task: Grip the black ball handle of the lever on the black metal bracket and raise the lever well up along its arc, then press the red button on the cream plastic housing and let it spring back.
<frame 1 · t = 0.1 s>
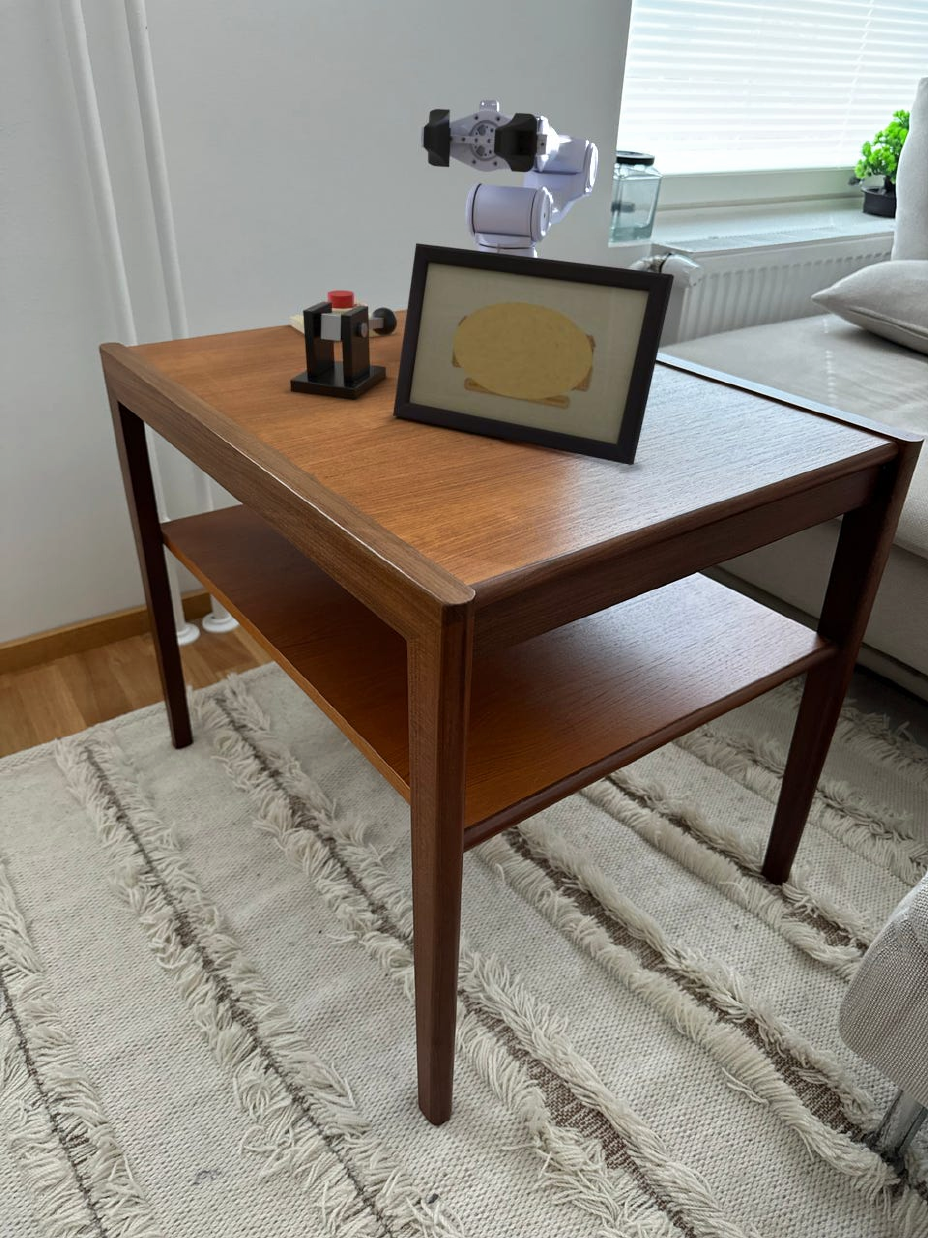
hand: (461, 138, 92), 22 cm above the table, tool horizontal, fingers open, 7 cm apart
button: (341, 300, 108), point 3 cm above the table, slide at 0.1 cm
bracket: (339, 384, 91), on the table
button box: (342, 329, 110), on the table
lever: (361, 324, 94), point 5 cm above the table, hinge at -10.0°
picture frame: (524, 429, 82), on the table
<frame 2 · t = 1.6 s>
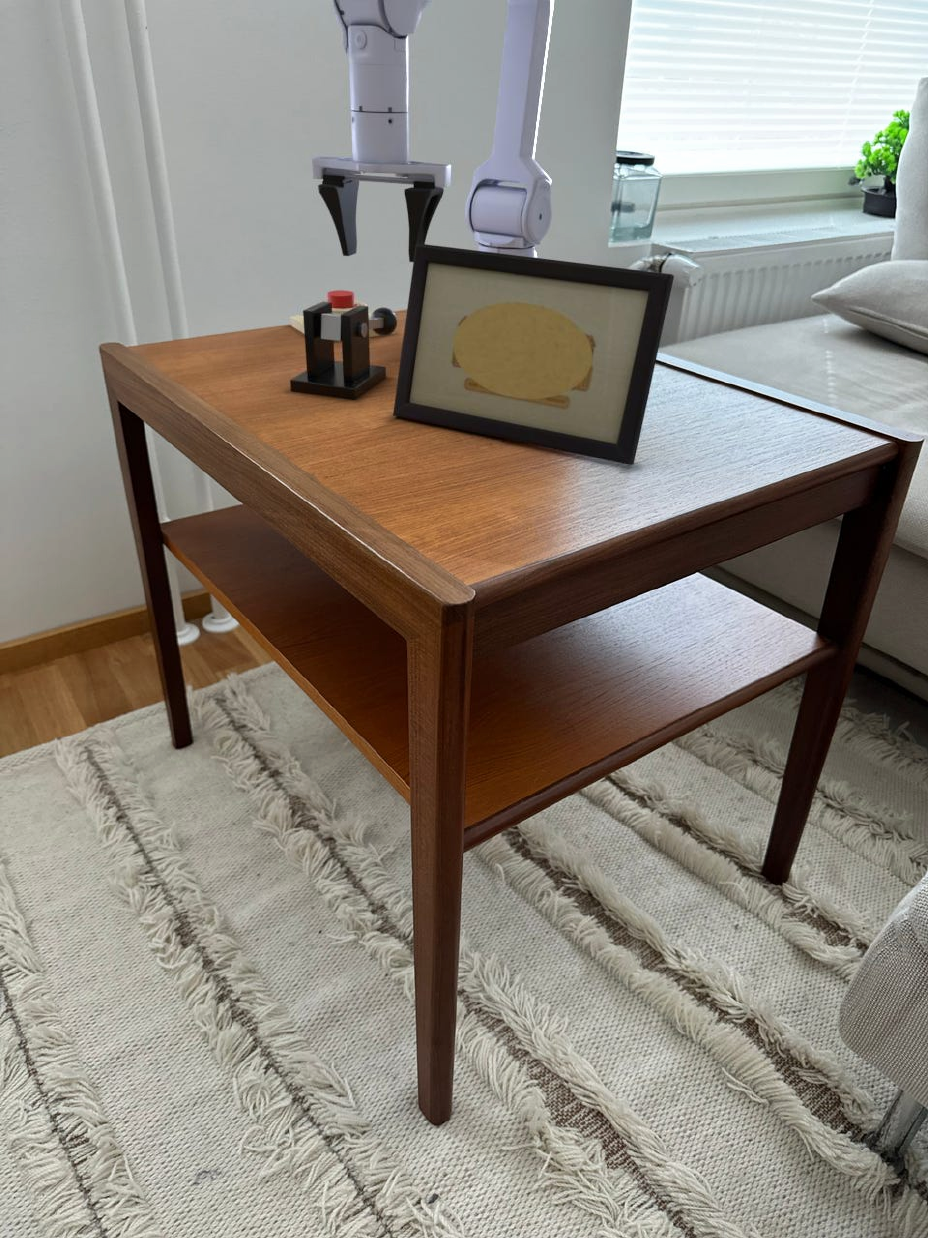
hand: (382, 257, 95), 10 cm above the table, tool pointing down, fingers open, 7 cm apart
nothing on the table moved.
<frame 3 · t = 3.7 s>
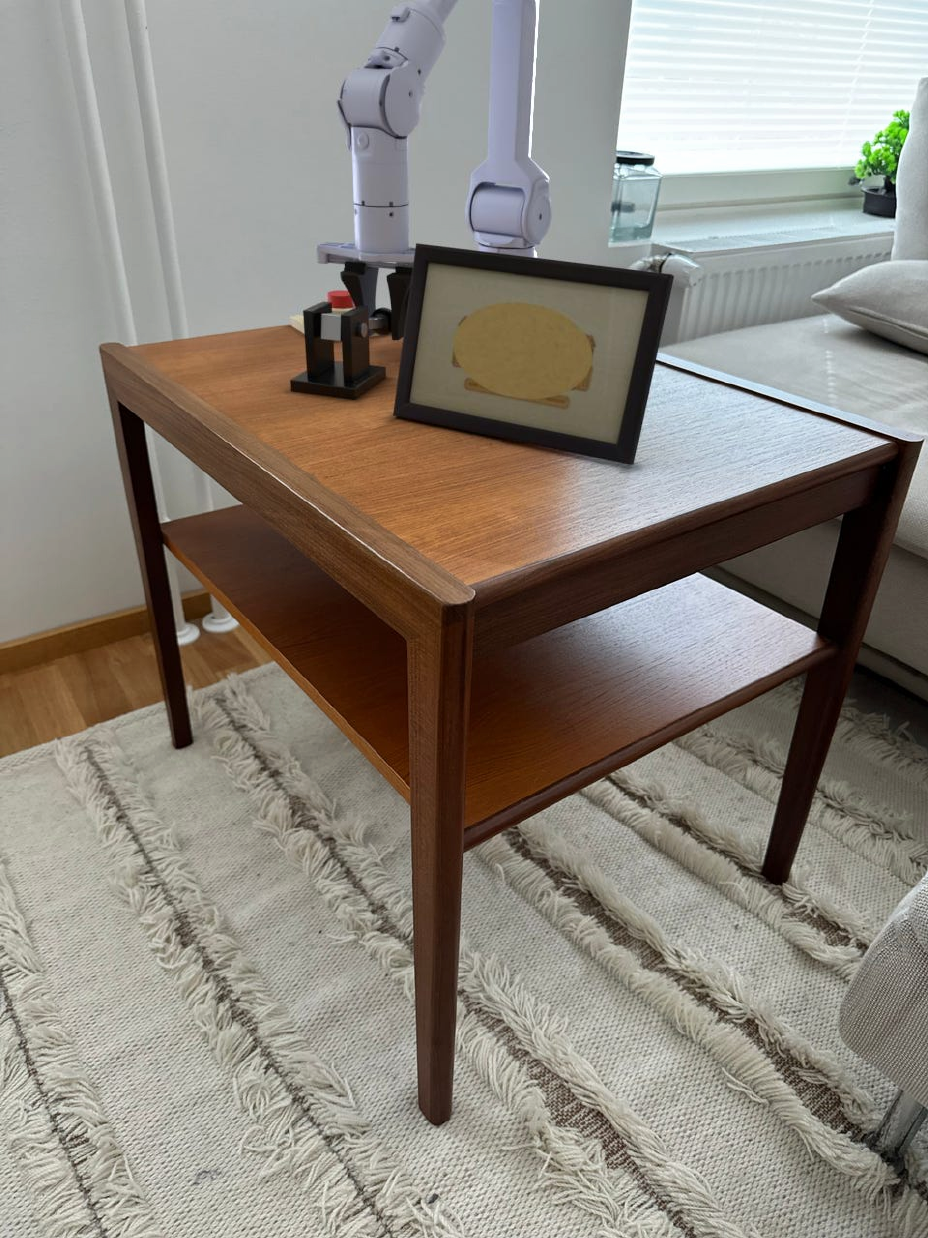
hand: (383, 336, 100), 2 cm above the table, tool pointing down, fingers closed on lever, 3 cm apart
lever: (361, 324, 94), point 5 cm above the table, hinge at -10.0°, touching gripper
everything else where it was.
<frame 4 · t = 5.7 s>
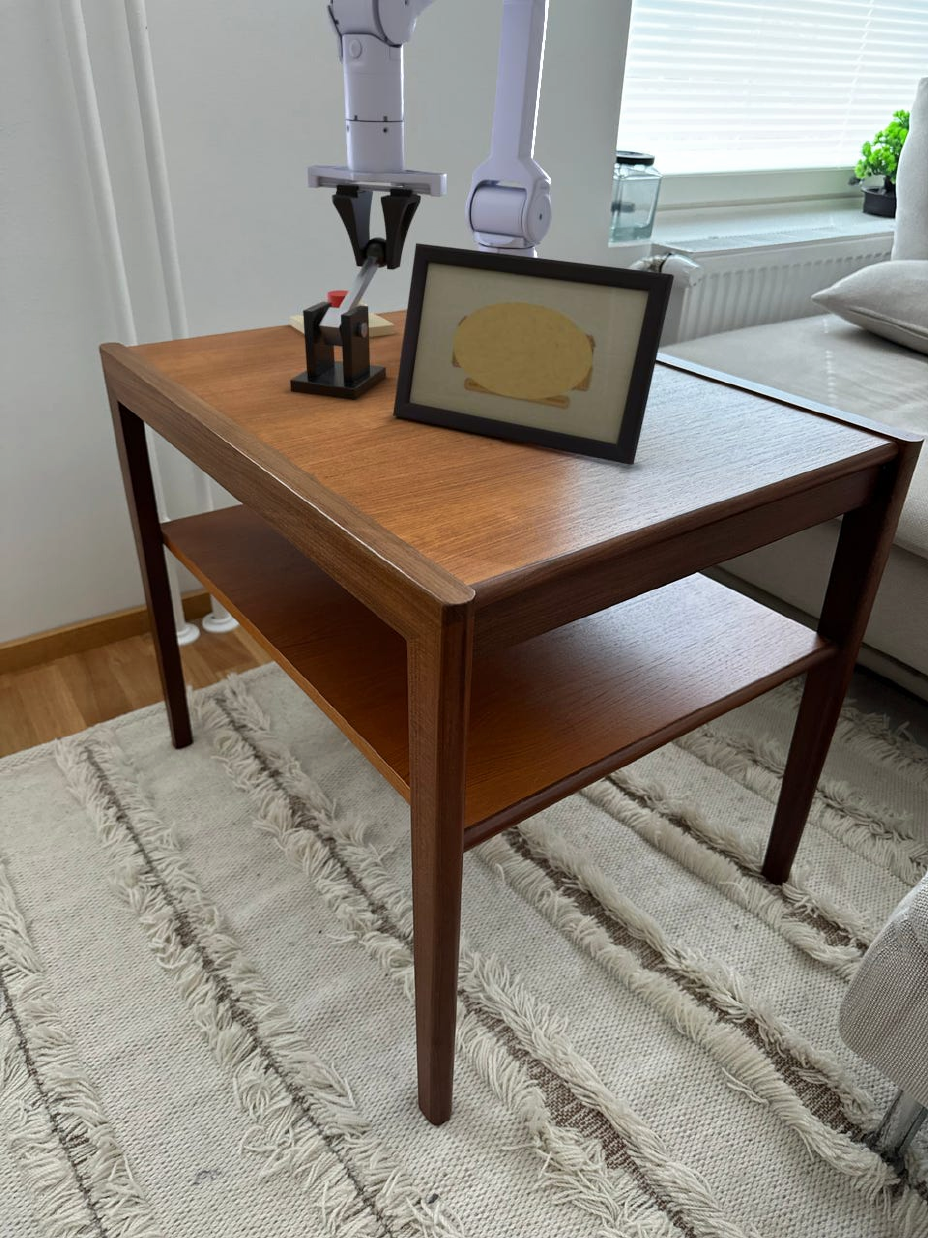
hand: (378, 266, 95), 10 cm above the table, tool pointing down, fingers closed on lever, 3 cm apart
lever: (358, 288, 91), point 8 cm above the table, hinge at 26.1°, touching gripper
everything else where it was.
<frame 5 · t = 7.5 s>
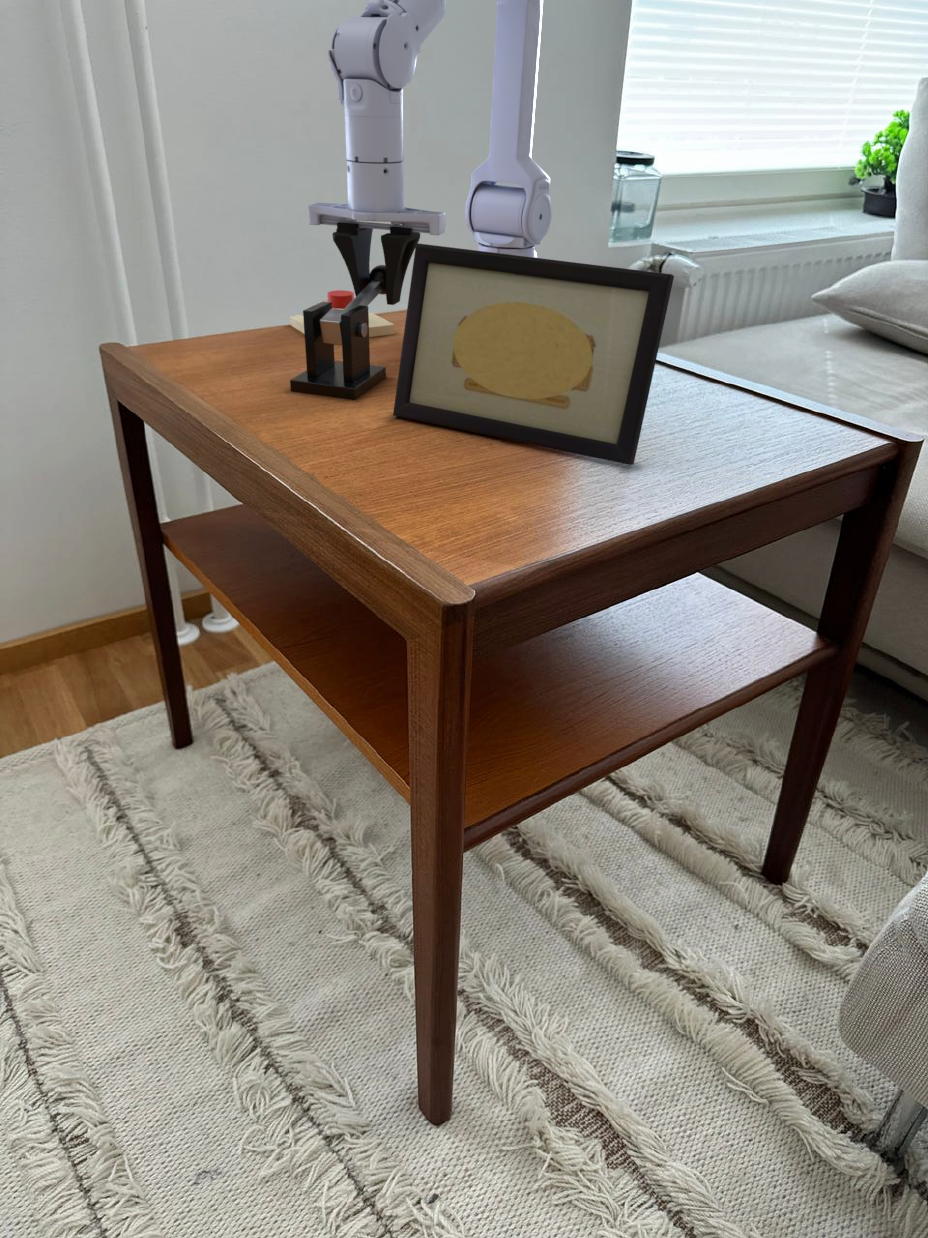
hand: (378, 301, 97), 6 cm above the table, tool pointing down, fingers closed on lever, 3 cm apart
lever: (361, 301, 93), point 7 cm above the table, hinge at 11.4°, touching gripper
everything else where it was.
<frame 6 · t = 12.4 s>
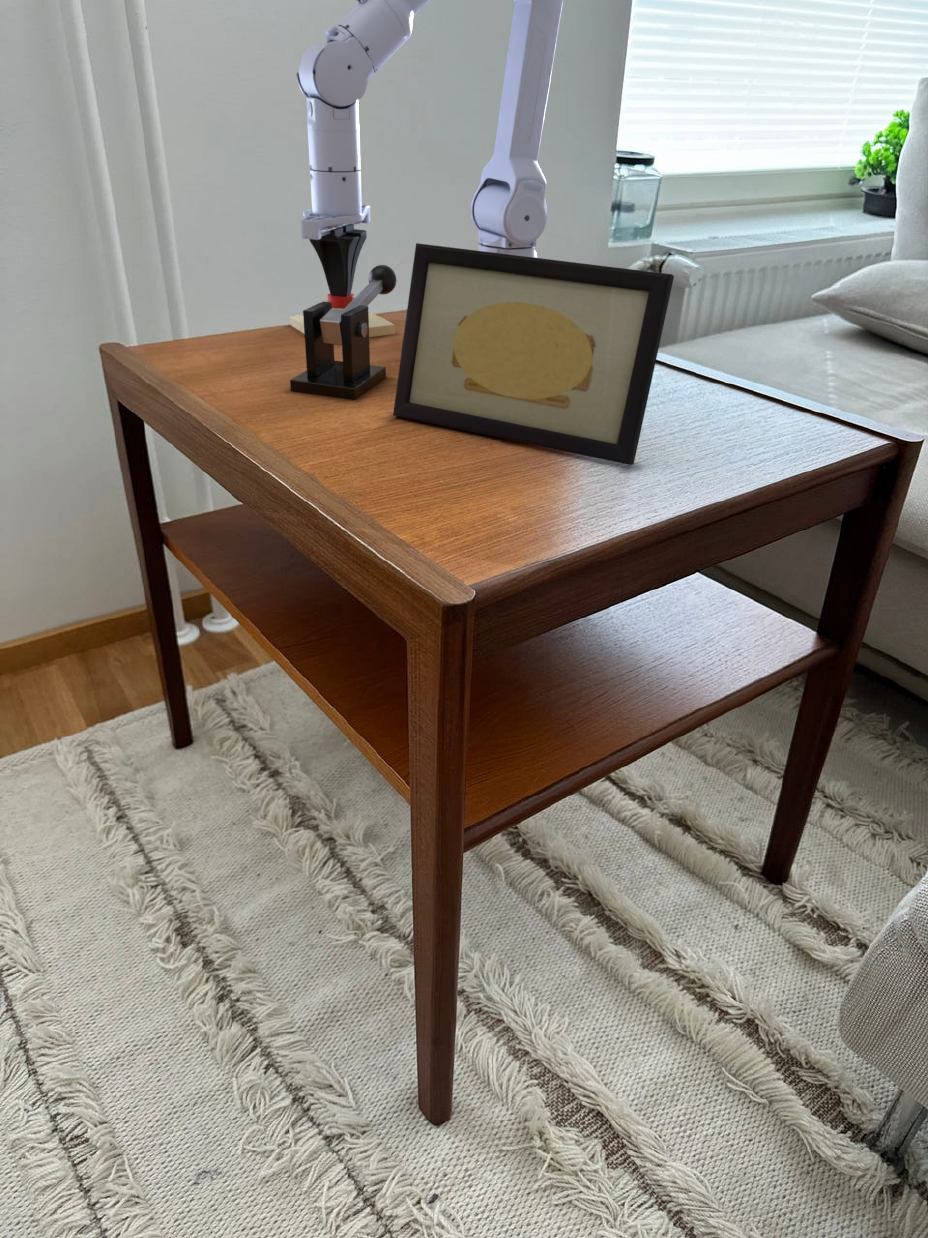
hand: (340, 295, 108), 4 cm above the table, tool pointing down, fingers closed, pressing on button
button: (341, 302, 108), point 3 cm above the table, slide at -0.1 cm, touching gripper
lever: (361, 301, 93), point 7 cm above the table, hinge at 11.4°
everything else where it was.
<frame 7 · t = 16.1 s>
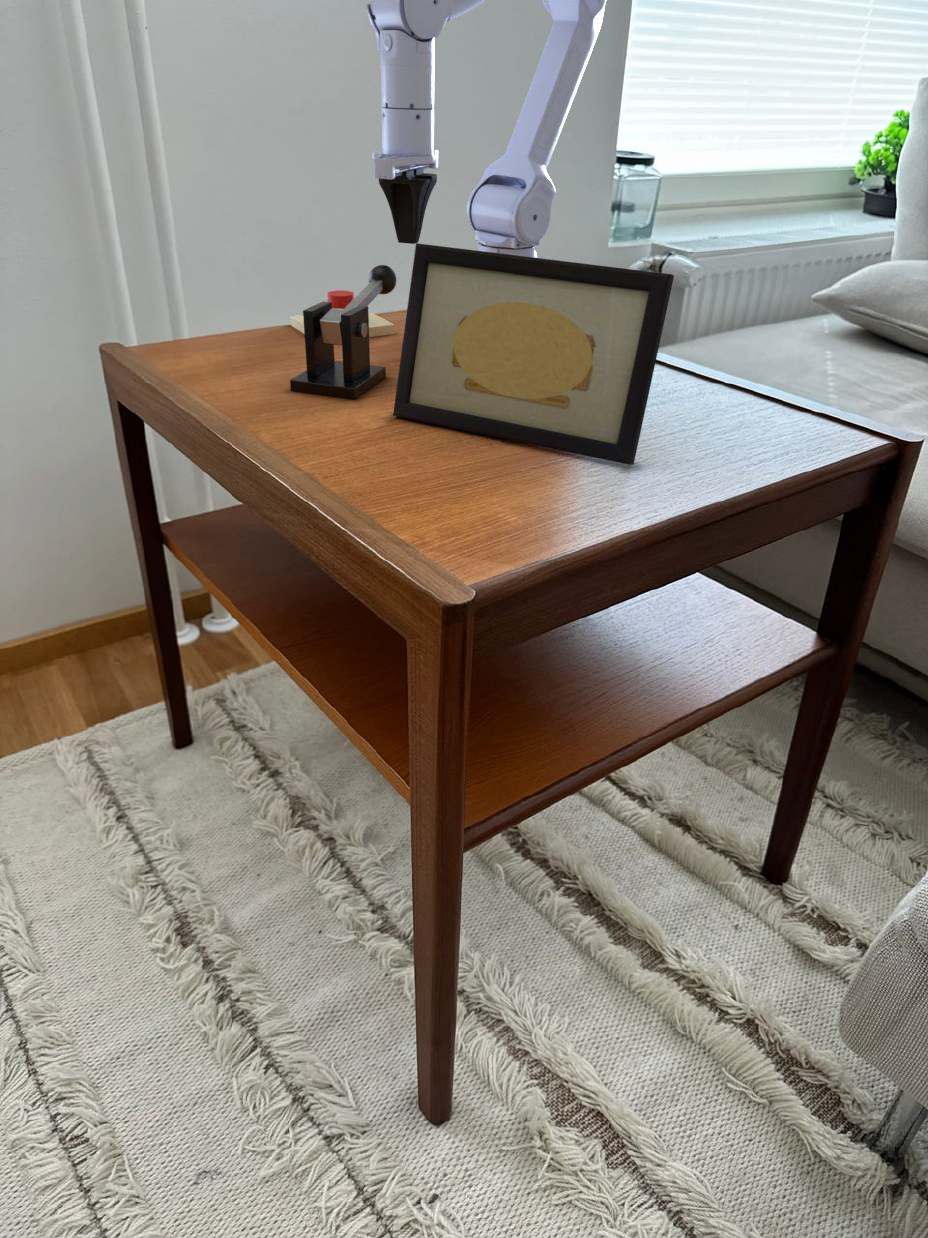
hand: (408, 242, 104), 10 cm above the table, tool pointing down, fingers closed
button: (341, 300, 108), point 3 cm above the table, slide at 0.1 cm
everything else where it was.
at the end: lever reached +28° during the clip, +11° at the end; lever at +11° (first picture: -10°); button pushed in 1.2 cm at the most during the clip, back to where it started at the end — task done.
